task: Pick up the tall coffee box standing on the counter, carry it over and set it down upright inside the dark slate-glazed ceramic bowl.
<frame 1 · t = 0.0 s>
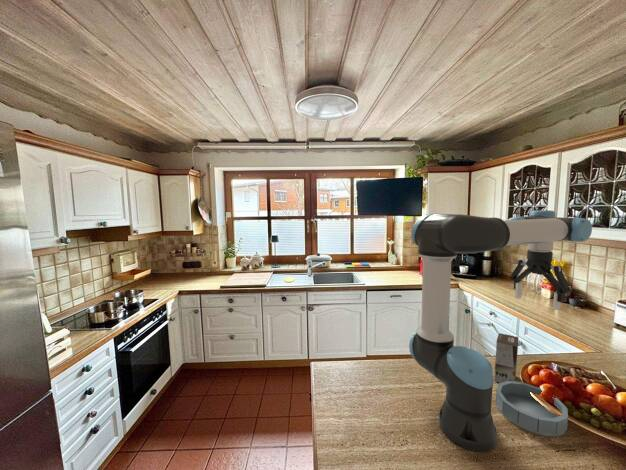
hand: (536, 303, 104), 28 cm above the countertop, tool pointing down, fingers open, 13 cm apart
bowl: (529, 413, 85), on the countertop
coffee box: (505, 378, 102), on the countertop
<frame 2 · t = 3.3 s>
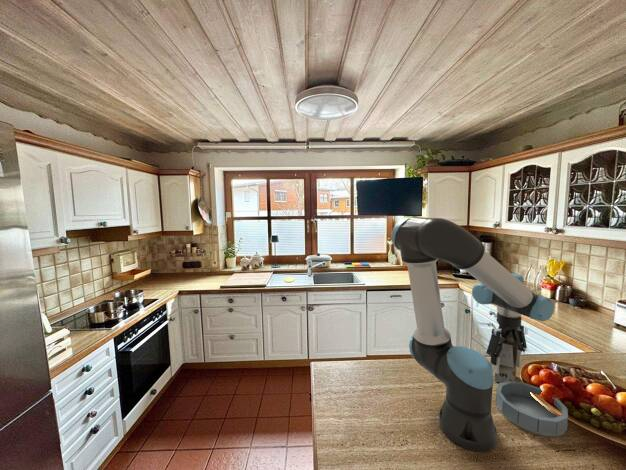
hand: (505, 368, 102), 4 cm above the countertop, tool pointing down, fingers closed on coffee box, 11 cm apart
coffee box: (505, 378, 102), on the countertop, touching gripper
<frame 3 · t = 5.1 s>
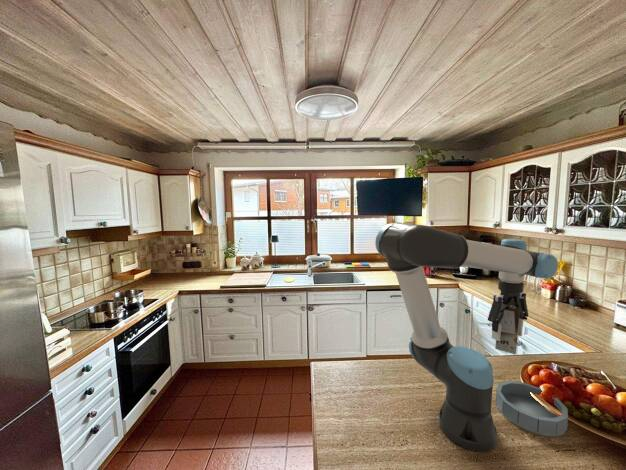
hand: (506, 337, 100), 17 cm above the countertop, tool pointing down, fingers closed on coffee box, 11 cm apart
coffee box: (506, 347, 101), point 13 cm above the countertop, touching gripper
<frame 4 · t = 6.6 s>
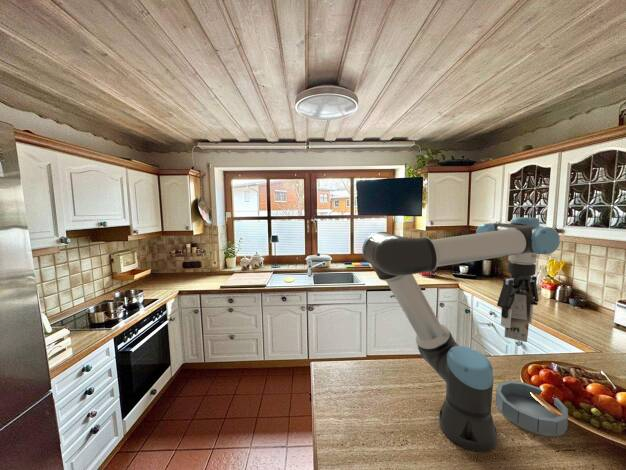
hand: (516, 324, 93), 25 cm above the countertop, tool pointing down, fingers closed on coffee box, 11 cm apart
coffee box: (515, 335, 93), point 21 cm above the countertop, touching gripper
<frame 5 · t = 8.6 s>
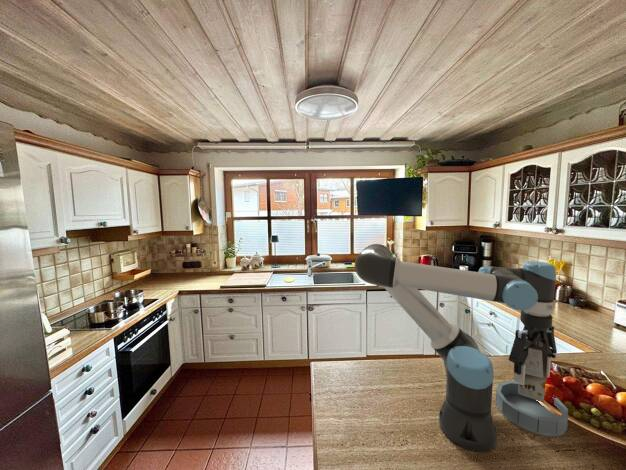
hand: (531, 378, 84), 12 cm above the countertop, tool pointing down, fingers closed on coffee box, 11 cm apart
coffee box: (530, 391, 84), point 8 cm above the countertop, touching gripper
when the fingers open (7 cm above the countertop, at t = 10.3 s): coffee box drops 2 cm, resting on bowl.
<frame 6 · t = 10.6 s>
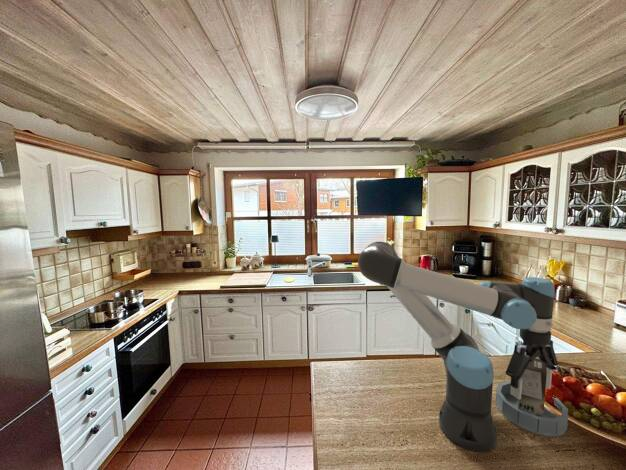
hand: (530, 391, 84), 8 cm above the countertop, tool pointing down, fingers open, 13 cm apart
coffee box: (529, 411, 85), point 1 cm above the countertop, touching bowl
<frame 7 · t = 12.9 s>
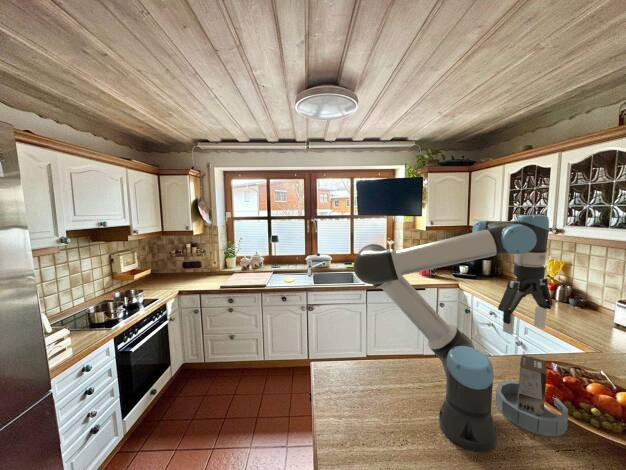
hand: (524, 329, 84), 27 cm above the countertop, tool pointing down, fingers open, 13 cm apart
nothing on the countertop moved.
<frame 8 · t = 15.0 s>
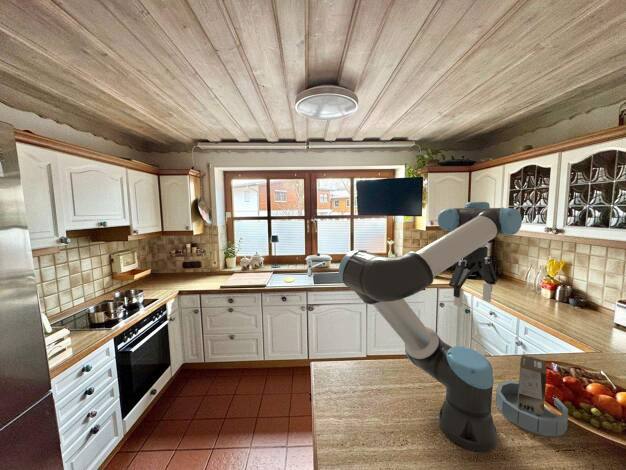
hand: (472, 303, 96), 32 cm above the countertop, tool pointing down, fingers open, 13 cm apart
nothing on the countertop moved.
at the end: coffee box inside the target area on the bowl (0.2 cm from its centre), point 0.8 cm above the bowl's base; coffee box tilted 0°; the gripper is holding nothing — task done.
